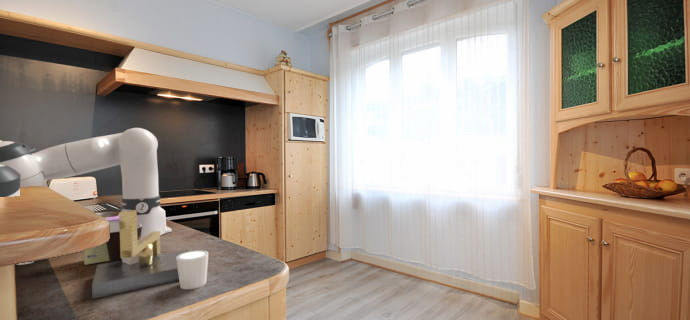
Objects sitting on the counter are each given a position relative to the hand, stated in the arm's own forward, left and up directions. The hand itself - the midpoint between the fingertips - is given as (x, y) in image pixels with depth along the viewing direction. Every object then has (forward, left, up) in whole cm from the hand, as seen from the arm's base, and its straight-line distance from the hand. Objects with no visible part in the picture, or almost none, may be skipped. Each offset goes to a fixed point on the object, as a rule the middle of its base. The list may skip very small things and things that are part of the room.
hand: (119, 226), depth 68 cm
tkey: (-7, +4, -12) cm, 14 cm away
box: (-29, -4, -15) cm, 33 cm away
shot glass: (+4, +14, -15) cm, 21 cm away
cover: (-13, +3, -12) cm, 18 cm away
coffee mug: (-23, +1, -15) cm, 28 cm away
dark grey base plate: (-8, +5, -15) cm, 18 cm away
